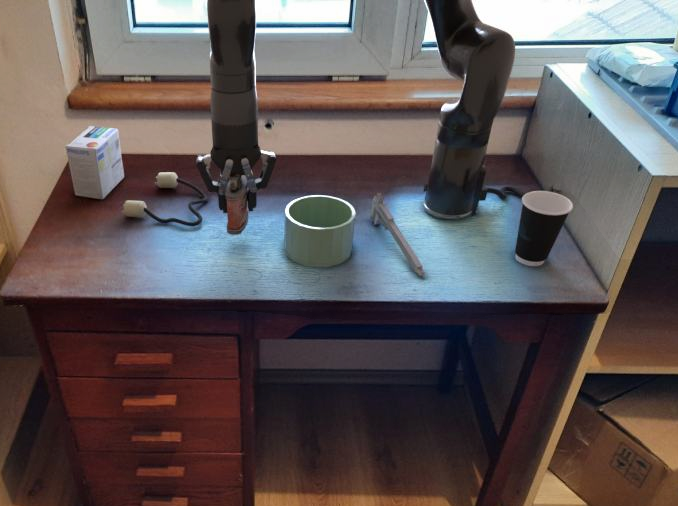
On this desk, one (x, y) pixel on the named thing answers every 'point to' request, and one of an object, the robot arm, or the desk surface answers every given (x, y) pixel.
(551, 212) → the dixie cup
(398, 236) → the caliper
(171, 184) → the cable
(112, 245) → the desk surface
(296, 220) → the pencil cup
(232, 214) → the lighter
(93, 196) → the light bulb box
